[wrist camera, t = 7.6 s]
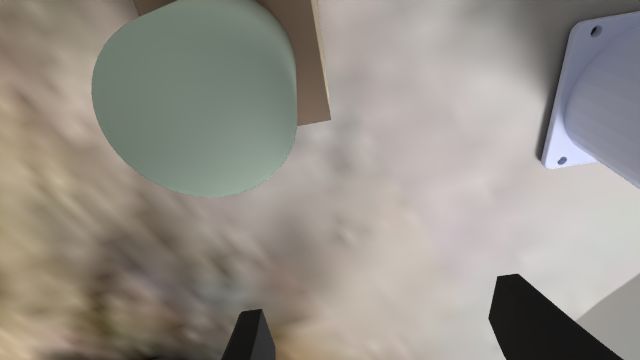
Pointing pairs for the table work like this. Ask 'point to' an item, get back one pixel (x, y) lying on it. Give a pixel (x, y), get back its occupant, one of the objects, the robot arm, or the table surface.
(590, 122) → the robot arm
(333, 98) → the table surface
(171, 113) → the pale green short cylinder
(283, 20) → the walnut top block
